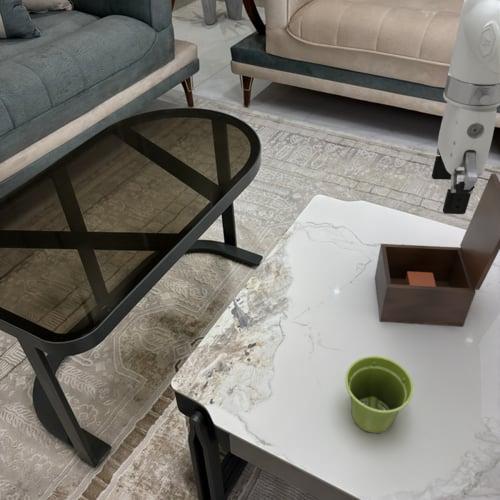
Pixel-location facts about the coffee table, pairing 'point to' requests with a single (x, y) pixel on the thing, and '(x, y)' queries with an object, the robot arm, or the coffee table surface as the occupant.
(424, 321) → the chest
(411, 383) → the plant pot
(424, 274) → the block
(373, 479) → the coffee table surface
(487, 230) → the lid
